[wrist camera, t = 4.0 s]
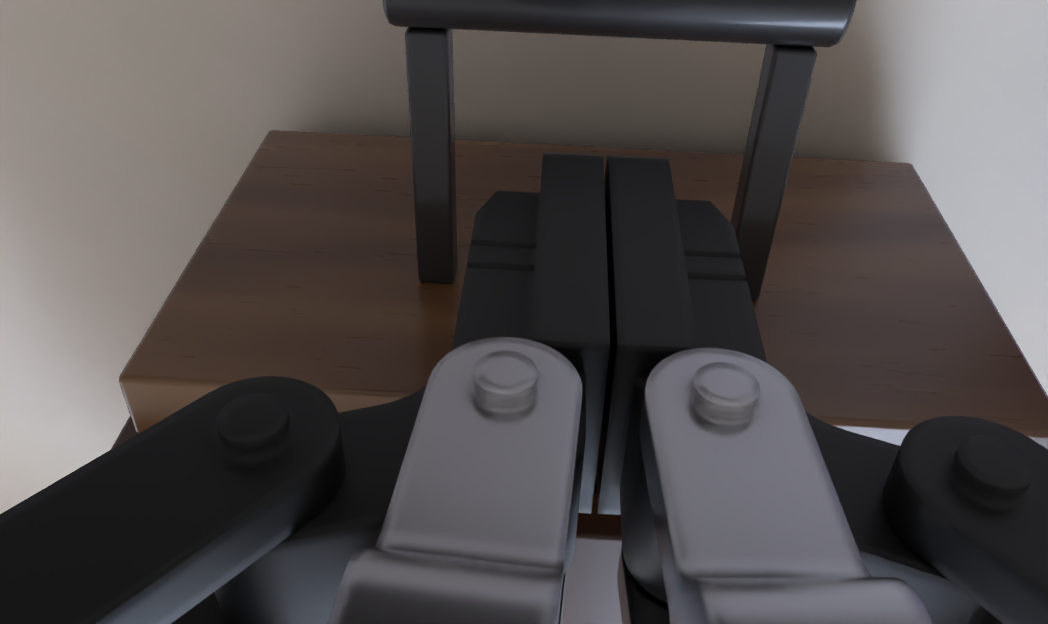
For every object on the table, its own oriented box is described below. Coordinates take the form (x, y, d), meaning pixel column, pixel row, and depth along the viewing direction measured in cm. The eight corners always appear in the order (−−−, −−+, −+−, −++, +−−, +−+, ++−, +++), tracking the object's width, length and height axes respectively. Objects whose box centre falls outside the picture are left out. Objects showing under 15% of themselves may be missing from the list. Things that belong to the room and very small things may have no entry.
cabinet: (265, 175, 21) (77, 504, 13) (905, 209, 20) (1095, 568, 13) (334, 581, 30) (250, 906, 23) (769, 610, 30) (830, 950, 22)
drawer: (219, -178, 15) (-28, -35, 9) (1014, -143, 15) (1311, 27, 9) (337, 553, 28) (266, 821, 22) (772, 581, 28) (826, 862, 21)
